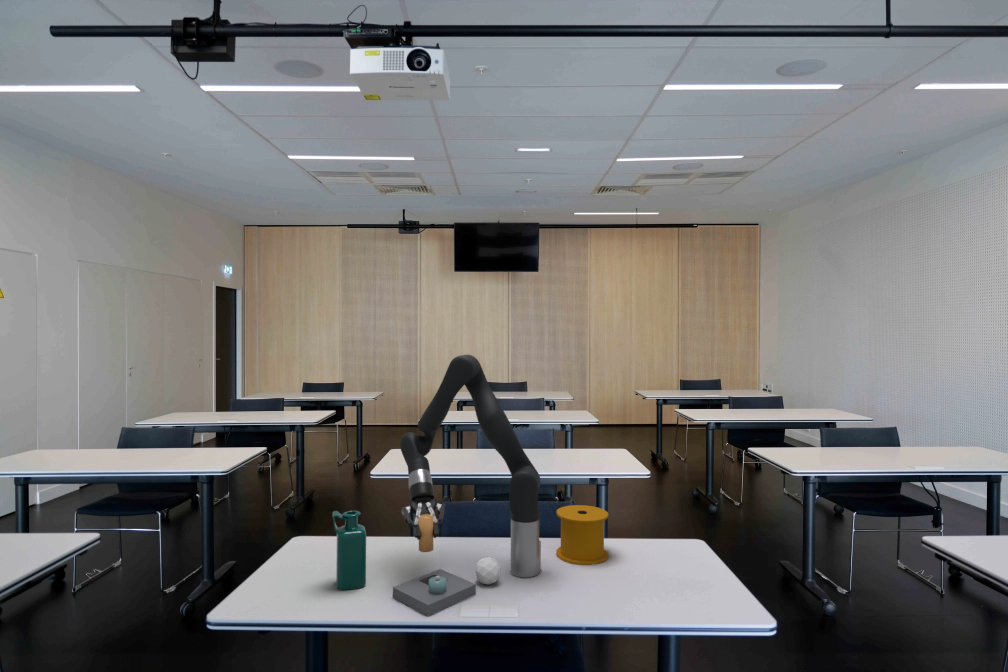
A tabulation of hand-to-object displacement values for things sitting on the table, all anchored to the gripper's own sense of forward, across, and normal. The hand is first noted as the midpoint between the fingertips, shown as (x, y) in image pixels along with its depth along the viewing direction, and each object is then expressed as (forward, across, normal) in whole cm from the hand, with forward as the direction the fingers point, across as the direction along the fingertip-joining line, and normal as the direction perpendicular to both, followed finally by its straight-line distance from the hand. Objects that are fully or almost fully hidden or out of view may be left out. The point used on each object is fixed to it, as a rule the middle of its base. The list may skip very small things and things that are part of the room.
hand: (427, 537), depth 165 cm
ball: (+12, +18, +11) cm, 25 cm away
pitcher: (+3, -22, +18) cm, 29 cm away
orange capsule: (+2, 0, +4) cm, 5 cm away
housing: (+14, +1, +8) cm, 16 cm away
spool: (+3, +56, +21) cm, 60 cm away
